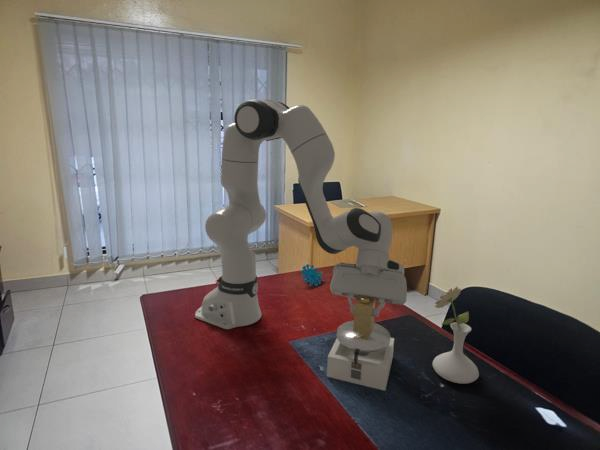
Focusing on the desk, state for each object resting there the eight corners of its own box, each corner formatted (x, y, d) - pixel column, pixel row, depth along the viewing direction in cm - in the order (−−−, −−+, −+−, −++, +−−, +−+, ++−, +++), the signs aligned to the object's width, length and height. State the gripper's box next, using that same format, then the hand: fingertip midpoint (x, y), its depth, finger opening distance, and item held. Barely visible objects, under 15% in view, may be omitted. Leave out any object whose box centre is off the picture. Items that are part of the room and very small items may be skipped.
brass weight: (353, 331, 98) (354, 300, 95) (356, 323, 102) (358, 293, 99) (370, 335, 96) (372, 303, 94) (373, 326, 100) (375, 296, 98)
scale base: (326, 377, 97) (327, 357, 95) (341, 346, 111) (341, 328, 109) (385, 391, 92) (386, 370, 90) (392, 357, 106) (394, 338, 104)
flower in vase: (461, 359, 105) (473, 276, 99) (487, 385, 95) (502, 294, 88) (418, 363, 103) (427, 279, 97) (440, 391, 92) (451, 298, 86)
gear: (308, 286, 148) (299, 264, 152) (300, 292, 152) (291, 271, 156) (328, 283, 155) (319, 262, 159) (320, 289, 159) (311, 268, 163)
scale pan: (327, 365, 95) (328, 345, 93) (343, 333, 109) (343, 316, 108) (383, 378, 90) (385, 358, 89) (391, 343, 104) (393, 325, 103)
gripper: (333, 256, 104) (323, 304, 98) (409, 266, 98) (404, 317, 91) (336, 266, 109) (327, 312, 103) (409, 275, 103) (403, 324, 97)
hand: (364, 314), depth 97 cm, fingers closed on brass weight, 4 cm apart
